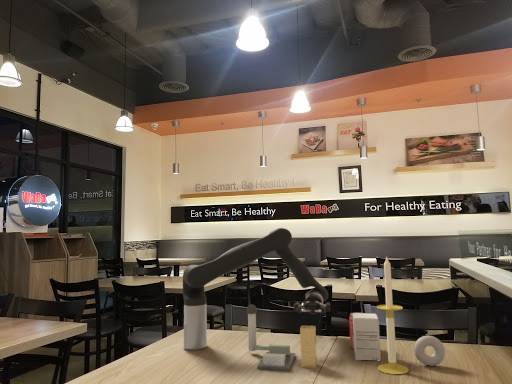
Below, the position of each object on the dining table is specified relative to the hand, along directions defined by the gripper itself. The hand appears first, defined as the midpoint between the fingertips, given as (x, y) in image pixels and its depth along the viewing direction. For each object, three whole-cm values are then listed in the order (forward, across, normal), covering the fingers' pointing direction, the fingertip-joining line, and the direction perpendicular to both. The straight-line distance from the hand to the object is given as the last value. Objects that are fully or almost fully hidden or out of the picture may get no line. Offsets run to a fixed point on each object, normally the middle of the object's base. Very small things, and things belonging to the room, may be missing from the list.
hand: (310, 310), depth 149 cm
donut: (+5, +40, +17) cm, 44 cm away
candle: (+11, +27, +17) cm, 34 cm away
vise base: (+10, -12, +16) cm, 22 cm away
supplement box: (-1, +20, +17) cm, 26 cm away
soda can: (-13, +17, +17) cm, 28 cm away
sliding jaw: (+2, -17, +15) cm, 22 cm away
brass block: (+11, 0, +16) cm, 20 cm away
